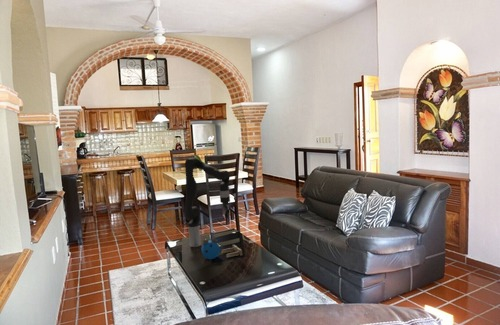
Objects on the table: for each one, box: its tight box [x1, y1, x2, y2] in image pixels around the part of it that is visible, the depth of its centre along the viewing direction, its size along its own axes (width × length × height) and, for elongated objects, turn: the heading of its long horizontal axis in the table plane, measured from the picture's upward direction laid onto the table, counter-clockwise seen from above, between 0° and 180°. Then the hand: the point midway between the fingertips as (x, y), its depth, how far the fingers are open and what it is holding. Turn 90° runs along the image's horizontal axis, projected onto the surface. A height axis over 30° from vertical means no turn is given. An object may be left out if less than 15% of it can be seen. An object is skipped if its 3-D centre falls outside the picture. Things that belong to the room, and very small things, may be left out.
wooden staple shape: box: [220, 244, 243, 259], centre depth 278 cm, size 16×12×4 cm
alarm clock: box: [201, 237, 221, 260], centre depth 271 cm, size 13×6×15 cm, turn 108°
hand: (226, 217), depth 283 cm, fingers closed
